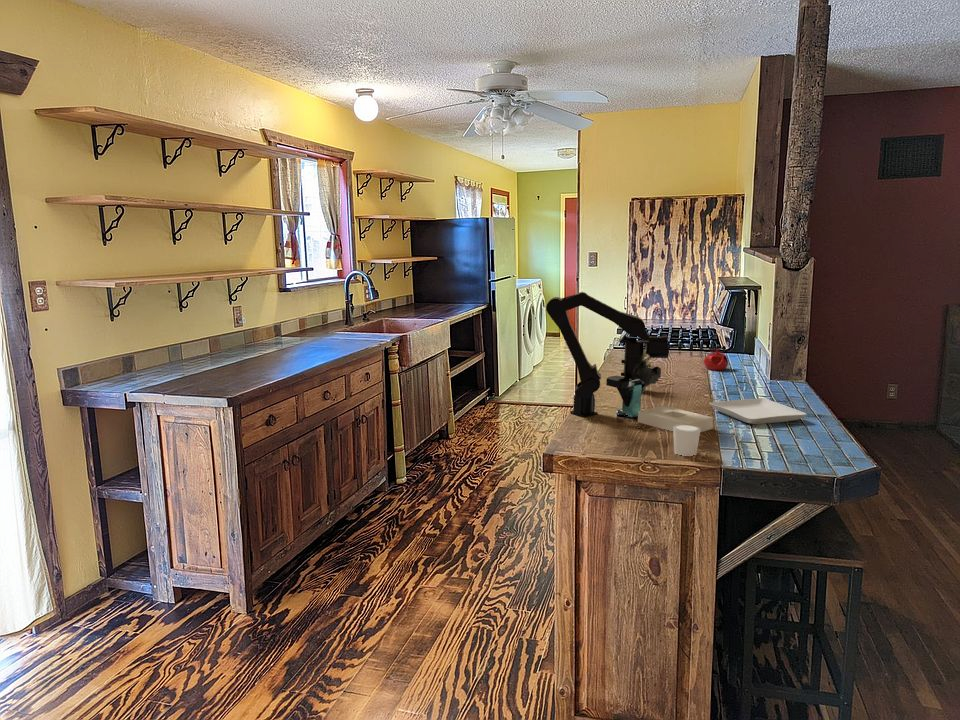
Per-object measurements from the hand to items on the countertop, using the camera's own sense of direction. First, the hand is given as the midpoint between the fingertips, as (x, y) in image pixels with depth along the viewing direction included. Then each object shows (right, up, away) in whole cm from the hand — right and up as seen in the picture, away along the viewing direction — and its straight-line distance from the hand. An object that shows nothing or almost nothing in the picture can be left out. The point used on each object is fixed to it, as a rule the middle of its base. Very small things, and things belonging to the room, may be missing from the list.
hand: (631, 405), depth 210 cm
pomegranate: (+54, +10, +78) cm, 96 cm away
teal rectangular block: (0, -3, +1) cm, 3 cm away
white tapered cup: (+6, -10, -36) cm, 38 cm away
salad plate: (+40, -4, +1) cm, 40 cm away
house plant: (+11, +3, +35) cm, 37 cm away
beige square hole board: (+11, -5, -10) cm, 16 cm away
